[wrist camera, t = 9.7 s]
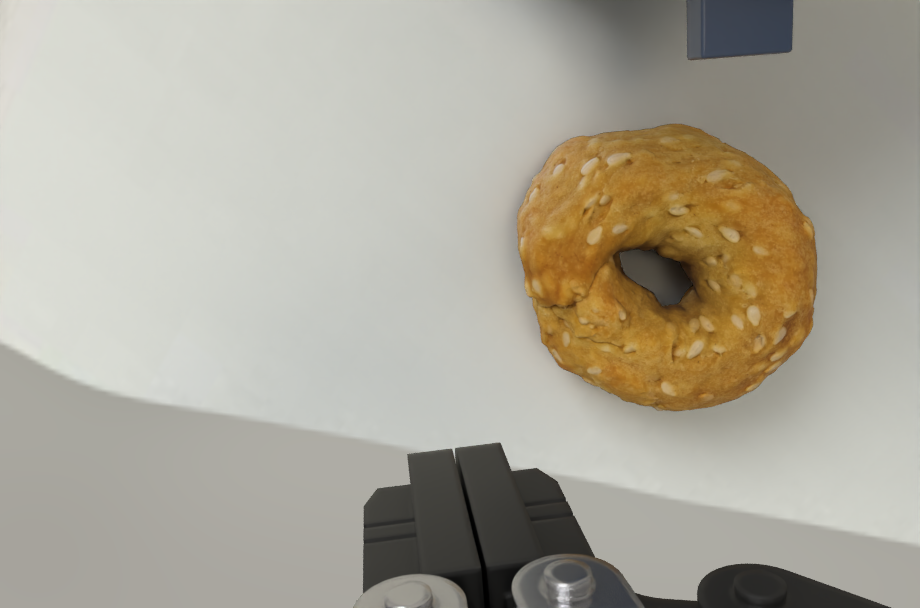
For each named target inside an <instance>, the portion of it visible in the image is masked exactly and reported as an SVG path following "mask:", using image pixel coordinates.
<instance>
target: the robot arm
mask: <svg viewBox="0 0 920 608" xmlns="http://www.w3.org/2000/svg"><path fill="white" fill-rule="evenodd" d="M407 455H408V465H409V473H410V483H411V484H410V485H403V486H394V487H386V488H379V489H377V490H376V491H375V492H374V494H373V495H372V496H371V498H370V499H369V500H368V502H367V503H366V504H365V506H364V550H363V553H364V555H363V558H364V559H363V594H362V595H361V596H360V598H359V599H358V600H357V601H356V603H355V605H354V606H353V608H891V607H888V606H885V605H882V604H879V603H877V602H874V601H871V600H868V599H865V598H863V597H860V596H857V595H854V594H851V593H849V592H846V591H843V590H840V589H838V588H835V587H832V586H829V585H826V584H824V583H821V582H818V581H815V580H812V579H810V578H807V577H804V576H801V575H798V574H796V573H793V572H790V571H787V570H784V569H780V568H777V567H773V566H768V565H760V564H735V565H729V566H725V567H722V568H718V569H716V570H714V571H712V572H710V573H709V574H708V575H706V576H705V577H704V578H703V579H702V580H701V582H700V584H699V586H698V591H697V601H687V600H673V599H661V598H653V597H648V596H643V595H640V594H637V593H635V592H634V591H633V590H632V588H631V586H630V585H629V584H628V582H627V581H626V579H625V578H624V576H623V575H622V574H621V572H620V571H619V570H618V569H616V568H615V567H614V566H613V565H611V564H609V563H608V562H606V561H603V560H601V559H598V558H595V556H594V554H593V552H592V550H591V548H590V546H589V544H588V542H587V540H586V538H585V536H584V534H583V532H582V530H581V528H580V526H579V524H578V522H577V520H576V518H575V516H573V513H572V510H571V508H570V506H569V504H568V502H566V498H565V496H564V494H563V492H562V490H561V488H560V486H559V484H558V482H557V481H556V480H554V479H553V478H551V477H550V476H548V475H547V474H545V473H544V472H542V471H540V470H539V469H537V468H534V469H526V470H518V471H511V469H510V466H509V463H508V461H507V458H506V456H505V453H504V451H503V448H502V446H501V443H492V444H484V445H476V446H468V447H460V448H455V458H456V463H455V459H454V455H453V451H452V449H445V450H437V451H429V452H421V453H413V454H407Z"/></svg>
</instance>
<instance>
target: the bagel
mask: <svg viewBox="0 0 920 608" xmlns="http://www.w3.org/2000/svg"><path fill="white" fill-rule="evenodd" d="M517 231H518V250H519V254H520V258H521V261H522V264H523V268H524V271H525V290H526V293H527V295H528V296H529V297H533V298H532V300H533V307H534V310H535V312H536V314H537V318H538V322H539V325H540V331H541V340H542V343H543V344H544V345H545V346H547V348H548V350H549V352H550V353H551V354H552V356H553V357H554V359H555V360H556V362H557V364H558V365H559V366H560V367H561V368H563V369H565V370H567V371H570V372H572V373H575V374H577V375H579V376H581V377H582V378H583V379H584V381H586V382H587V383H590V384H591V385H594V386H598V387H600V388H601V389H604V390H605V391H607V392H609V393H613V394H614V395H616V396H618V397H620V398H621V399H622V400H623V401H626V402H633V403H636V404H639V405H643V406H651V407H653V408H655V409H656V410H658V411H663V410H670V411H682V410H692V409H699V408H707V407H713V406H716V405H719V404H722V403H725V402H729V401H732V400H735V399H737V398H739V397H741V396H742V395H744V394H746V393H749V392H751V391H753V390H754V389H756V388H757V387H758V386H759V385H760V384H761V383H762V381H763V380H764V379H765V378H766V377H767V376H768V375H770V374H772V373H773V372H775V371H776V370H777V369H778V367H779V366H781V365H782V364H783V363H784V362H786V361H787V360H788V358H789V357H790V356H791V355H793V354H794V353H795V352H796V351H797V350H798V349H799V348H800V347H801V345H802V343H803V342H804V340H805V339H806V337H807V336H808V335H809V333H810V332H811V330H812V327H813V318H812V316H813V312H814V308H813V304H814V300H815V296H816V291H817V289H816V279H817V254H816V247H815V238H814V236H815V231H814V227H813V224H812V222H811V221H810V219H809V217H806V216H804V215H803V213H802V212H801V211H800V209H799V208H798V207H797V205H796V203H795V201H794V199H793V196H792V193H791V191H790V190H789V188H788V187H787V186H786V185H785V184H784V183H783V182H782V181H781V180H780V179H779V178H778V177H777V176H776V175H775V174H774V173H773V172H771V171H770V170H769V169H768V168H767V167H766V166H764V165H763V164H761V163H760V162H758V161H757V160H755V159H754V158H753V157H751V156H749V155H748V154H746V153H745V152H743V151H740V150H737V149H735V148H733V147H731V146H729V145H727V144H726V143H722V142H721V141H720V140H719V139H718V138H716V137H714V136H711V135H709V134H707V133H705V132H704V131H702V130H701V129H698V128H694V127H691V126H688V125H683V124H668V125H662V126H658V127H656V128H652V129H643V130H635V131H628V130H626V131H616V132H607V133H601V134H598V135H595V136H579V137H575V138H571V139H570V140H568V141H566V142H564V143H563V144H561V145H560V146H557V147H556V148H555V150H553V151H552V153H551V155H550V157H549V158H548V160H547V161H546V163H545V165H544V166H543V169H542V170H541V171H540V172H539V174H537V175H535V176H534V177H533V181H532V184H531V187H530V188H529V189H528V191H527V193H526V196H525V199H524V202H523V204H522V206H521V207H520V208H519V211H518V215H517ZM632 249H641V250H643V251H646V250H651V249H654V250H655V251H656V252H657V253H658V255H660V256H661V257H665V258H671V259H673V260H675V261H679V262H680V263H681V266H682V268H683V269H684V271H685V272H686V274H687V276H688V277H689V279H690V280H691V281H692V283H693V286H692V287H690V288H689V289H688V290H687V291H686V292H685V294H684V296H683V297H682V299H681V301H680V302H679V303H678V304H675V305H668V306H666V305H665V306H662V305H661V304H660V302H659V301H658V299H657V298H656V296H655V295H654V294H653V292H651V291H649V290H648V289H646V288H644V287H643V286H641V285H638V284H637V283H636V282H634V281H633V280H631V279H630V278H628V277H627V276H626V275H625V273H624V271H623V268H622V267H621V261H620V256H619V253H620V252H623V251H629V250H632Z"/></svg>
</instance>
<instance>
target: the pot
mask: <svg viewBox="0 0 920 608" xmlns="http://www.w3.org/2000/svg"><path fill="white" fill-rule="evenodd" d="M792 31H793V0H687V58H688V60H702V59H715V58H728V57H741V56H755V55H768V54H779V53H788V52H790V51H791V50H792Z"/></svg>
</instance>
